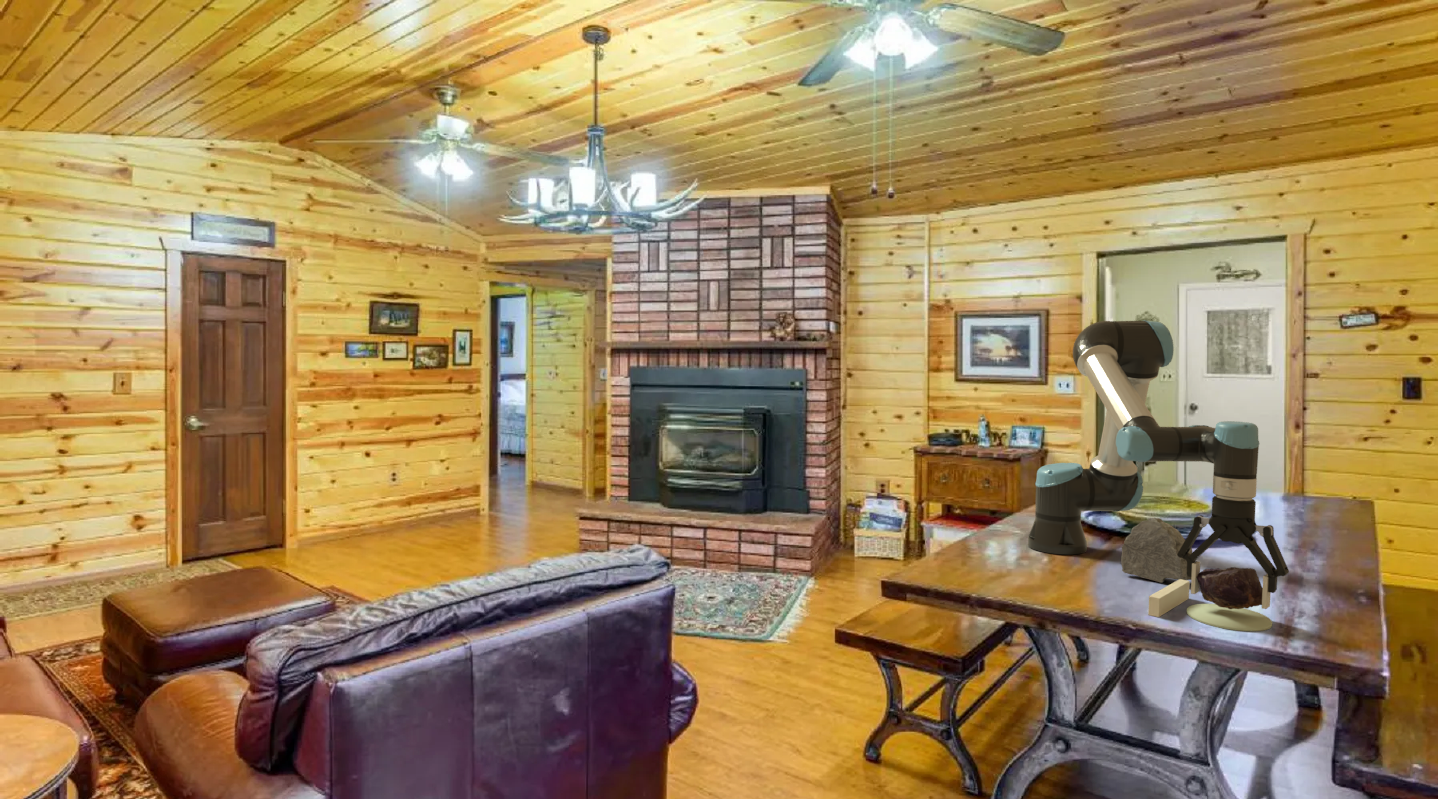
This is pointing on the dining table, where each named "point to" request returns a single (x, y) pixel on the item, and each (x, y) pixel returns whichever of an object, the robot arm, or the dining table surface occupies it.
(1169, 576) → the decorative rock
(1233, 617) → the felt pad
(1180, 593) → the rail
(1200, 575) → the rock
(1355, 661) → the dining table surface
